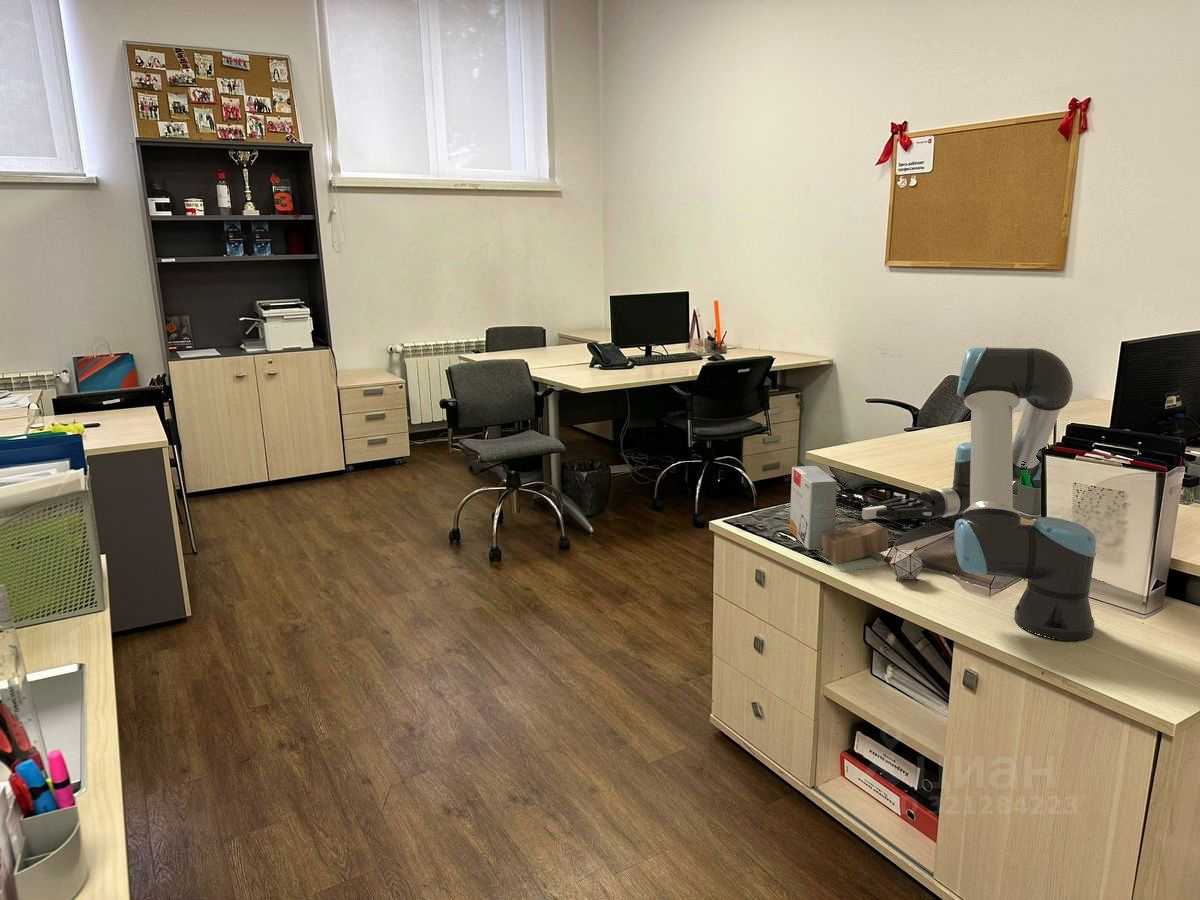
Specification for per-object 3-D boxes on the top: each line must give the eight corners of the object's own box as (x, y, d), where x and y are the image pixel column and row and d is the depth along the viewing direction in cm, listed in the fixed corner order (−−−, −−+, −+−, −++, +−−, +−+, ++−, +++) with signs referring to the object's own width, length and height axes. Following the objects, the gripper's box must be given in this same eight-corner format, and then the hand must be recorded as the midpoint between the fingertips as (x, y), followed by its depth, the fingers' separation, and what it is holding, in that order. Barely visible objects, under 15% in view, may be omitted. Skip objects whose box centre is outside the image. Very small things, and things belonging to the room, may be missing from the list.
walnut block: (887, 529, 212) (834, 543, 208) (888, 550, 214) (835, 564, 210) (873, 522, 218) (821, 535, 214) (874, 542, 219) (822, 556, 215)
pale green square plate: (887, 564, 210) (887, 559, 209) (844, 572, 206) (844, 566, 205) (854, 546, 223) (855, 541, 222) (813, 553, 219) (813, 547, 218)
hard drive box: (788, 532, 235) (791, 466, 230) (813, 530, 235) (817, 465, 230) (807, 551, 220) (810, 481, 215) (834, 550, 220) (838, 480, 216)
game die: (907, 590, 203) (927, 556, 204) (917, 592, 195) (938, 557, 195) (875, 570, 205) (896, 537, 205) (884, 571, 196) (905, 537, 197)
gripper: (953, 524, 215) (878, 535, 208) (920, 509, 227) (848, 519, 220) (955, 497, 213) (880, 507, 206) (922, 483, 225) (849, 493, 218)
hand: (863, 513), depth 213 cm, fingers closed
